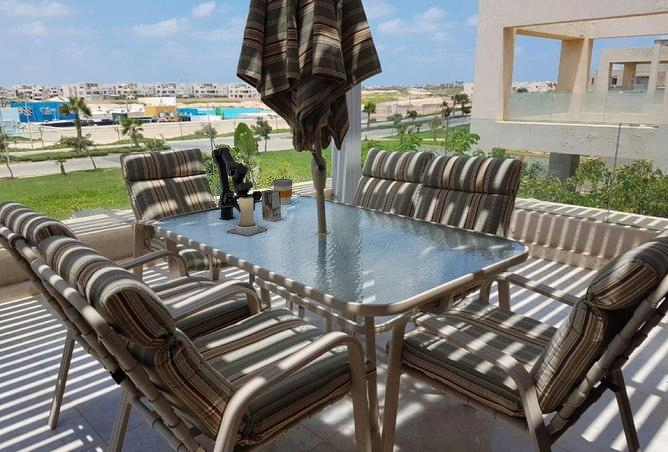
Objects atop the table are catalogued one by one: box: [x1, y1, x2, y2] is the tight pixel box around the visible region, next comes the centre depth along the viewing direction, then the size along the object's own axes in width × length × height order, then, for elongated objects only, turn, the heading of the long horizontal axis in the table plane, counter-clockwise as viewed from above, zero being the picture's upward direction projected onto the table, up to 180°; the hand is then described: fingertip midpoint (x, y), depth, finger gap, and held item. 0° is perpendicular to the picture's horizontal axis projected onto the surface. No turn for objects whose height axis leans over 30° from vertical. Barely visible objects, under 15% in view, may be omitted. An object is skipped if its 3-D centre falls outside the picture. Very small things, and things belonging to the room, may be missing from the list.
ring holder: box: [226, 222, 268, 238], centre depth 251 cm, size 14×14×4 cm
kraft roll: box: [238, 197, 255, 225], centre depth 249 cm, size 7×7×13 cm
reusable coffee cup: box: [272, 178, 293, 206], centre depth 318 cm, size 13×13×15 cm
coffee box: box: [260, 189, 282, 223], centre depth 275 cm, size 9×6×16 cm
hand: (247, 211), depth 248 cm, fingers closed on kraft roll, 7 cm apart
